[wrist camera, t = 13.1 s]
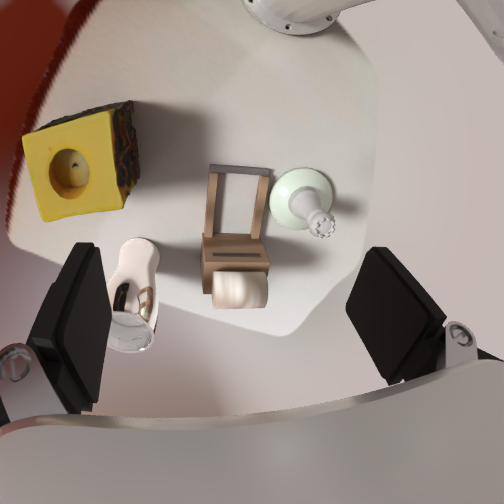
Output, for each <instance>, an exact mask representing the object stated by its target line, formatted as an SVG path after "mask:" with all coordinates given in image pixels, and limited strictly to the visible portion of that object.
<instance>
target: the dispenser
mask: <svg viewBox="0 0 504 504" xmlns="http://www.w3.org/2000/svg"><path fill="white" fill-rule="evenodd" d="M269 171H270V170H269V169H268V168H257V167H245V166H231V165H216V164H210V169H209V180H208V191H207V203H206V215H205V229H204V233H202V247H201V274H202V287H203V294H212V304H213V309H244V308H265V306H266V304H267V300H268V282H267V276H268V271H269V267H270V261H269V258H268V256H267V253H266V251H265V248H264V246H263V243H262V241H261V239H260V236H259V235H260V229H261V224H262V218H263V212H264V206H265V201H266V195H267V189H268V184H269V178H270V177H269ZM218 172H221V173H237V174H250V175H260V176H259V183H258V189H257V195H256V201H255V208H254V214H253V220H252V226H251V233H250V234H227V233H212V232H213V220H214V209H215V199H216V189H217V179H218Z"/></svg>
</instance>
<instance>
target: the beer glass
mask: <svg viewBox="0 0 504 504" xmlns="http://www.w3.org/2000/svg"><path fill="white" fill-rule="evenodd" d="M159 261H160V254H159V251H158V249H157V247H156V246H155V245H154V244H153V243H152V242H150V241H149V240H146V239H143V238H133V239H130V240H128V241H126V242H125V243H124V244H123V245H122V247H121V249H120V253H119V264H118V267H117V268H116V270H115V272H114V273H113V275H112V276H111V278H110V280H109V281H108V283H107V285H106V286H107V291H108V295H109V300H110V304H111V308H112V321H111V326H110V331H109V336H108V341H107V346H108V347H110V348H112V349H114V350H117V351H120V352H125V353H137V352H141V351H144V350H146V349H148V348H149V347H150V346H151V345H152V344H153V342H154V337H155V336H154V335H155V329H156V323H157V317H158V292H157V285H156V279H155V271H156V268H157V266H158V264H159Z"/></svg>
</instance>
